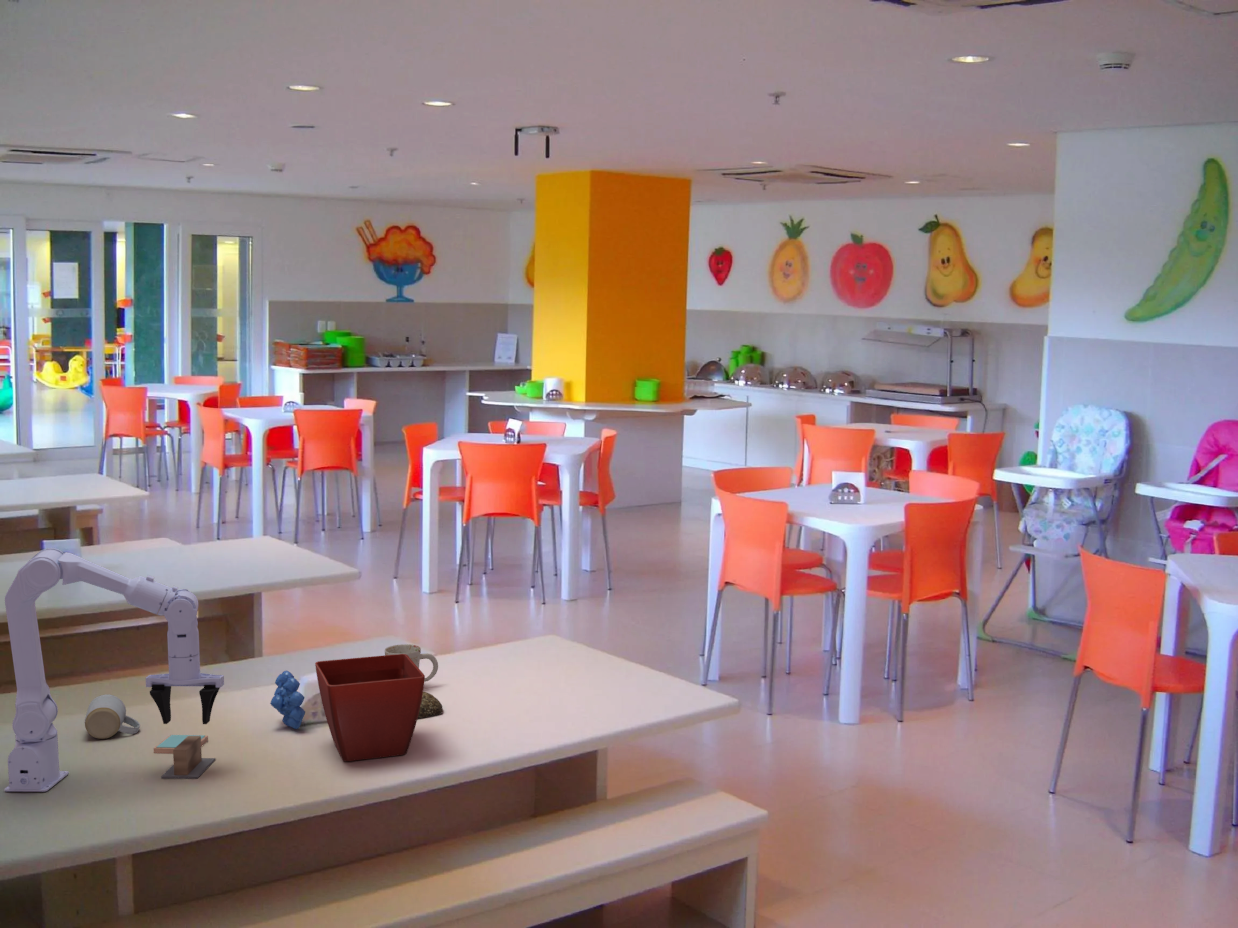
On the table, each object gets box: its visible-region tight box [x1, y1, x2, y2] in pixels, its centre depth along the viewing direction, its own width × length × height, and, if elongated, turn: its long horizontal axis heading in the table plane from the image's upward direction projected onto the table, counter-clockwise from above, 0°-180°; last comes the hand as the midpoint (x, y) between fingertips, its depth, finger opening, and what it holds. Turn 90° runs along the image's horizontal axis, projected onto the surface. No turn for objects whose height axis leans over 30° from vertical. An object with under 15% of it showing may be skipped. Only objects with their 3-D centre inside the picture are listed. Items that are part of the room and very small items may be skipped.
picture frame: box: [153, 734, 209, 755], centre depth 258 cm, size 2×8×8 cm
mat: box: [160, 757, 216, 780], centre depth 245 cm, size 10×7×1 cm
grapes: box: [269, 670, 306, 730], centre depth 269 cm, size 12×7×12 cm, turn 37°
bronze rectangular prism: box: [172, 736, 203, 775], centre depth 244 cm, size 8×2×5 cm, turn 179°
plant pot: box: [314, 654, 426, 762], centre depth 255 cm, size 19×19×17 cm
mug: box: [384, 643, 439, 683], centre depth 297 cm, size 8×13×10 cm, turn 115°
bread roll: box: [417, 691, 444, 720], centre depth 281 cm, size 13×12×5 cm
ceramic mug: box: [84, 694, 141, 740], centre depth 265 cm, size 11×8×8 cm
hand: (186, 722), depth 244 cm, fingers open, 7 cm apart
